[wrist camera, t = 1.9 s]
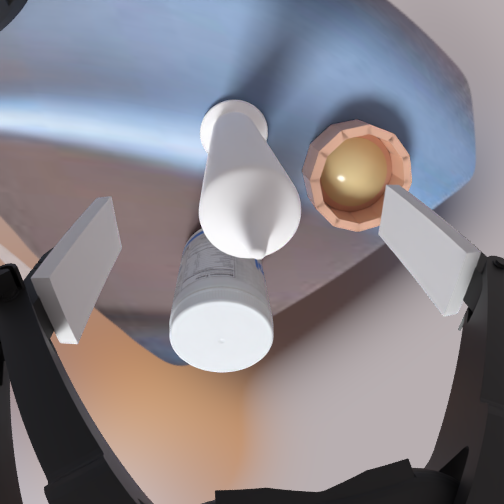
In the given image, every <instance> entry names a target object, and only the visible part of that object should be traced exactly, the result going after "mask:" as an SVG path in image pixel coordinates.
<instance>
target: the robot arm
mask: <svg viewBox="0 0 504 504" xmlns="http://www.w3.org/2000/svg"><path fill="white" fill-rule="evenodd" d="M26 1H27V0H0V31H1V30H2V29H3V28H5V27H6V26H7V25H8V24H9V23H10V22H11V21H12V20H13V19H14V18H15V16H16V15H17V14H18V13H19V11H20V10H21V9H22V7H23V6H24V4H25V3H26ZM378 235H379V236H380V237H381V238H382V239H383V240H384V242H385V243H386V244H387V245H388V246H389V247H390V249H391V250H392V251H393V252H394V253H395V255H396V256H397V257H398V258H399V259H400V261H401V262H402V263H403V265H404V266H405V267H406V268H407V269H408V271H409V272H410V273H411V275H412V276H413V277H414V278H415V280H417V282H418V284H419V285H420V286H421V287H422V289H423V290H424V291H425V293H426V294H427V295H428V297H429V298H430V299H431V301H432V302H433V303H434V305H435V306H436V307H437V309H438V310H439V311H440V313H441V314H442V316H443V317H445V316H449V315H454V314H458V312H459V310H460V307H461V305H462V303H463V301H464V302H465V303H466V304H467V306H468V308H467V311H466V313H465V315H464V317H463V320H462V322H461V324H460V326H459V328H458V330H461V328H462V327H463V331H462V338H461V344H460V350H459V356H458V361H457V366H456V371H455V375H454V380H453V384H452V389H451V393H450V397H449V401H448V405H447V409H446V412H445V416H444V420H443V423H442V426H441V430H440V433H439V436H438V439H437V442H436V445H435V448H434V451H433V454H432V456H431V458H430V460H429V462H428V463H427V465H426V466H425V468H412V467H411V465H410V462H409V459H405V460H402V461H398V462H395V463H392V464H388V465H385V466H382V467H378V468H375V469H370V470H367V471H365V472H363V473H361V474H359V475H357V476H355V477H353V478H351V479H349V480H347V481H345V482H343V483H340V484H338V485H336V486H334V487H332V488H330V489H327V490H325V491H322V492H305V491H291V490H281V489H271V488H259V489H243V490H221V491H220V490H219V491H218V490H217V491H215V500H213V501H209V502H205V503H202V504H504V259H503V258H501V257H497V256H489V257H486V256H485V255H484V254H483V253H482V252H481V251H480V250H479V249H478V248H476V246H474V245H473V244H472V243H471V242H470V241H469V240H468V239H466V238H465V237H464V236H463V235H462V234H461V233H459V232H458V231H457V230H456V229H455V228H453V227H452V226H451V225H450V224H449V223H447V222H446V221H445V220H444V219H442V218H441V217H440V216H439V215H438V214H436V213H435V212H434V211H433V210H431V209H430V208H429V207H428V206H426V205H425V204H424V203H422V202H421V201H420V200H419V199H417V198H416V197H415V196H413V195H412V194H411V193H409V192H408V191H407V190H405V189H404V188H403V187H401V186H400V185H386V189H385V196H384V203H383V209H382V216H381V222H380V228H379V233H378ZM121 249H122V245H121V241H120V237H119V232H118V227H117V223H116V218H115V213H114V208H113V202H112V197H111V196H109V197H100V198H96V199H95V201H94V202H93V203H92V204H91V205H90V206H89V207H88V208H87V209H86V211H85V212H84V213H83V214H82V215H81V216H80V217H79V218H78V220H77V221H76V222H75V223H74V224H73V225H72V227H71V228H70V229H69V230H68V231H67V232H66V234H65V235H64V236H63V237H62V238H61V240H60V241H59V242H58V243H57V245H56V246H55V247H54V248H52V249H51V250H49V251H48V252H47V253H45V254H44V255H43V256H42V257H41V259H40V260H39V261H38V263H37V264H36V265H35V266H34V268H33V269H32V270H31V271H30V273H29V274H28V275H27V277H26V278H25V279H24V281H23V280H22V277H21V275H20V272H19V270H18V267H17V266H16V264H12V263H10V264H5V265H2V266H0V504H23V502H22V498H21V493H20V488H19V483H18V477H17V471H16V464H15V457H14V448H13V440H12V429H11V414H10V382H11V385H12V388H13V392H14V395H15V399H16V402H17V404H18V408H19V411H20V414H21V417H22V420H23V422H24V425H25V428H26V430H27V433H28V436H29V438H30V441H31V443H32V446H33V448H34V451H35V453H36V455H37V458H38V460H39V462H40V465H41V467H42V469H43V471H44V473H45V475H46V478H47V480H48V485H47V486H45V487H44V491H45V495H46V498H47V500H48V503H49V504H153V503H152V501H151V500H150V499H149V498H148V497H147V496H146V495H145V494H144V492H143V491H142V490H141V489H140V487H139V486H138V485H137V484H136V483H135V481H134V480H133V478H132V477H131V476H130V474H129V473H128V472H127V471H126V469H125V468H124V466H123V465H122V464H121V462H120V461H119V459H118V458H117V457H116V455H115V454H114V452H113V451H112V449H111V448H110V446H109V445H108V443H107V442H106V440H105V439H104V437H103V436H102V434H101V433H100V431H99V430H98V428H97V426H96V425H95V423H94V421H93V420H92V418H91V416H90V415H89V413H88V411H87V409H86V408H85V406H84V404H83V403H82V401H81V399H80V397H79V395H78V394H77V392H76V390H75V388H74V386H73V384H72V382H71V380H70V378H69V376H68V375H67V373H66V371H65V369H64V367H63V364H62V362H61V360H60V358H59V356H58V354H57V352H56V350H55V348H54V345H53V343H52V342H51V340H50V337H51V336H52V333H53V332H55V334H56V336H57V338H58V339H59V341H60V343H70V344H78V343H79V340H80V338H81V335H82V333H83V330H84V328H85V326H86V323H87V321H88V319H89V316H90V314H91V312H92V310H93V307H94V305H95V303H96V301H97V299H98V296H99V294H100V292H101V290H102V288H103V286H104V283H105V281H106V279H107V277H108V275H109V273H110V271H111V269H112V267H113V265H114V263H115V261H116V259H117V257H118V255H119V253H120V251H121Z"/></svg>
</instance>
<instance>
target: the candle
mask: <svg viewBox="0 0 504 504" xmlns="http://www.w3.org/2000/svg"><path fill="white" fill-rule="evenodd" d="M267 137H268V127H267V123H266V120H265V118H264V116H263V114H262V113H261V112H260V111H259V109H257V108H256V107H255V106H254V105H252V104H250V103H248V102H246V101H242V100H226V101H223V102H220V103H218V104H216V105H215V106H213V107H212V108H211V109H210V110H209V111H208V112H207V113H206V115H205V117H204V118H203V121H202V123H201V127H200V138H201V142H202V145H203V147H204V149H205V150H206V152H207V153H208V157H207V162H206V168H205V174H204V180H203V186H202V192H201V198H200V204H199V220H200V224H201V227H202V229H203V232H204V234H205V235H206V237H207V238H208V240H209V241H210V242H211V243H212V244H213V245H214V246H215V247H216V248H218V249H219V250H221V251H222V252H224V253H226V254H228V255H231V256H235V257H239V258H254V259H258V260H259V259H262V258H264V257H265V256H266V255H269V254H271V253H273V252H275V251H277V250H278V249H280V248H281V247H283V246H284V245H285V244H286V243H287V242H288V241H289V240H290V239H291V238H292V236H293V235H294V233H295V232H296V230H297V227H298V225H299V222H300V217H301V202H300V197H299V194H298V192H297V189H296V188H295V186H294V184H293V183H292V181H291V179H290V178H289V176H288V175H287V173H286V171H285V170H284V168H283V167H282V165H281V164H280V162H279V161H278V159H277V157H276V156H275V154H274V153H273V151H272V150H271V148H270V147H269V145H268V144H267V142H266V141H267Z"/></svg>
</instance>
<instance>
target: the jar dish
mask: <svg viewBox="0 0 504 504" xmlns="http://www.w3.org/2000/svg"><path fill="white" fill-rule="evenodd" d="M377 137H378V138H377ZM302 174H303V178H304V182H305V187H306V191H307V195H308V198H309V199H310V201H311V202H312V204H313V205H314V207H315V208H316V209H317V210H318V211H319V212H320V213H321V214H322V215H323V216H324V217H325V218H326V219H327V220H328V221H329V222H330V223H331V224H332V225H333V226H334V227H339V228H343V229H348V230H352V231H356V232H359V231H363V230H366V229H370V228H373V227H376V226H380V222H381V216H382V209H383V203H384V196H385V189H386V185H400V186H401V187H403V188H404V189H405V190H407V191H409V188H410V186H411V183H412V176H411V164H410V155H409V154H408V152H407V151H406V149H405V148H404V147H403V145H402V144H401V142H400V141H399V139H398V138H397V137H396V135H395V134H393V133H391V132H389V131H386V130H384V129H381V128H379V127H376V126H373V125H371V124H368V123H366V122H363V121H360V120H358V119H356V120H351V121H346V122H341V123H337V124H332V125H330V126H329V127H328V128H327V129H326V130H325V131H323V132H322V133H321V134H320V135H319V136H318V137H317V138H316V139H315V140H314V141H313V142H312V143H311V144H310V146H309V149H308V152H307V156H306V159H305V162H304V165H303V168H302Z"/></svg>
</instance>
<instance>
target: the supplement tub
mask: <svg viewBox="0 0 504 504" xmlns="http://www.w3.org/2000/svg"><path fill="white" fill-rule="evenodd" d="M170 342H171V345H172V347H173V349H174V351H175V352H176V353H177V354H178V356H179V357H180V358H182V359H183V360H184V361H185V362H187V363H189V364H190V365H192V366H194V367H197V368H199V369H202V370H206V371H212V372H231V371H237V370H241V369H244V368H247V367H249V366H251V365H253V364H255V363H257V362H258V361H259V360H261V359H262V358H263V357H264V356H265V355H266V354H267V353H268V351H269V349H270V348H271V345H272V342H273V320H272V313H271V308H270V303H269V297H268V292H267V287H266V282H265V277H264V272H263V267H262V262H261V259H259V260H258V259H254V258H239V257H235V256H231V255H228V254H226V253H224V252H222V251H221V250H219V249H218V248H216V247H215V246H214V245H213V244H212V243H211V242H210V241H209V240H208V238H207V237H206V235H205V234H204V232H203V229H200V230H198V231H197V232H195V233H194V234H193V235H192V236H191V237H190V238H189V240H188V241H187V243H186V245H185V247H184V251H183V255H182V259H181V264H180V269H179V274H178V279H177V284H176V289H175V294H174V300H173V305H172V311H171V316H170Z"/></svg>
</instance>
